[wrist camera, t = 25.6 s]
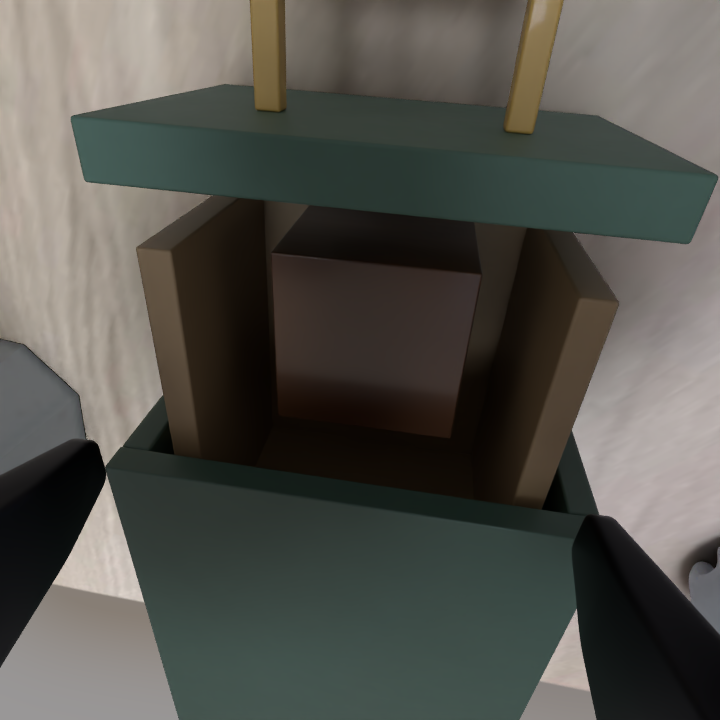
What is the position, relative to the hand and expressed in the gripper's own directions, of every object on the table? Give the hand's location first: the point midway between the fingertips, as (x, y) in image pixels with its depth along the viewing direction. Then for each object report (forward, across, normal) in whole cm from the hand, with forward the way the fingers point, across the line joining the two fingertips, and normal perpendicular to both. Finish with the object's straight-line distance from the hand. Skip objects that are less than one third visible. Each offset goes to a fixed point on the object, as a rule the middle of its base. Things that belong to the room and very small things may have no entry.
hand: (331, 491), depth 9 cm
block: (+10, 0, 0) cm, 10 cm away
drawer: (+11, 0, -1) cm, 11 cm away
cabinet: (+12, 0, +10) cm, 15 cm away
